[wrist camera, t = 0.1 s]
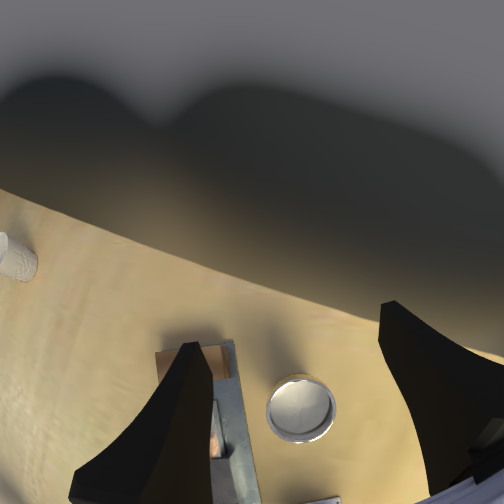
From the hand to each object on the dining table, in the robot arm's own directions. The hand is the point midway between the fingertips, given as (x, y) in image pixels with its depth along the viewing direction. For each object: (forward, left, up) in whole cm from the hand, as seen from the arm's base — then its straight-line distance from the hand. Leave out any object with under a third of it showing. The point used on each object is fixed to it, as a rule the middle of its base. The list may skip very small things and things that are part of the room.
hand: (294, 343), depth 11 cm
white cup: (+22, +50, -32) cm, 63 cm away
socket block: (0, +13, -32) cm, 35 cm away
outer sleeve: (-10, +13, -32) cm, 36 cm away
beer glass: (-6, 0, -32) cm, 33 cm away
